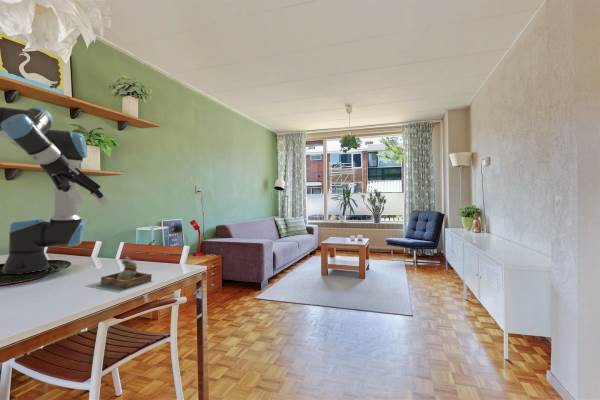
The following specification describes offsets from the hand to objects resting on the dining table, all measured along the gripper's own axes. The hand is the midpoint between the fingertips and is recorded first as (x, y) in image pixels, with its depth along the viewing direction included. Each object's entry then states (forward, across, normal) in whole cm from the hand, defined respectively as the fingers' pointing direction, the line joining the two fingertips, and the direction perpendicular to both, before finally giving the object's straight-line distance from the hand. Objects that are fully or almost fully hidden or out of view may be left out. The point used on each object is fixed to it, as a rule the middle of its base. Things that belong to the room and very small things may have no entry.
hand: (93, 202), depth 113 cm
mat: (+27, +9, -19) cm, 34 cm away
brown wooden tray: (+28, +10, -17) cm, 35 cm away
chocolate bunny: (+28, +10, -17) cm, 34 cm away
